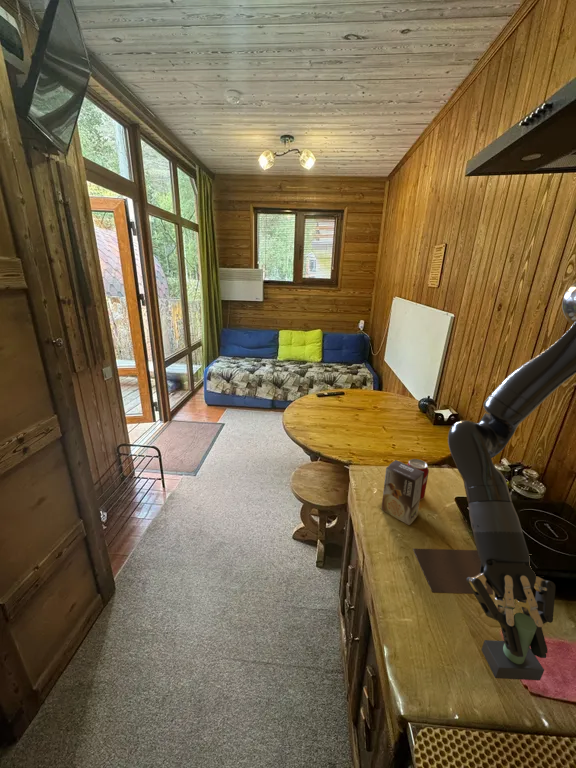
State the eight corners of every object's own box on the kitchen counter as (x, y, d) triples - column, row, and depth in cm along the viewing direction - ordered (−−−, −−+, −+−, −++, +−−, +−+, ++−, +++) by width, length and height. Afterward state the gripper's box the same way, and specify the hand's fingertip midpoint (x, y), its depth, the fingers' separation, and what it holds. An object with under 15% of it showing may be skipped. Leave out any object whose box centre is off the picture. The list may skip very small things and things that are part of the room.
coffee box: (418, 518, 92) (426, 472, 87) (408, 529, 87) (416, 481, 82) (389, 503, 98) (395, 459, 93) (379, 513, 93) (385, 467, 89)
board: (481, 554, 79) (482, 550, 79) (513, 599, 68) (514, 594, 67) (411, 552, 80) (412, 548, 79) (431, 597, 68) (432, 592, 68)
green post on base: (481, 649, 52) (494, 607, 49) (522, 651, 52) (538, 609, 49) (495, 678, 49) (511, 634, 46) (540, 680, 49) (558, 636, 45)
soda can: (417, 504, 97) (423, 472, 94) (398, 493, 102) (402, 462, 99) (427, 496, 101) (433, 464, 98) (409, 486, 106) (413, 455, 103)
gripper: (468, 528, 51) (497, 663, 43) (552, 531, 51) (597, 666, 43) (447, 529, 58) (469, 646, 50) (521, 532, 58) (555, 650, 50)
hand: (528, 655), depth 47 cm, fingers closed on green post on base, 3 cm apart
